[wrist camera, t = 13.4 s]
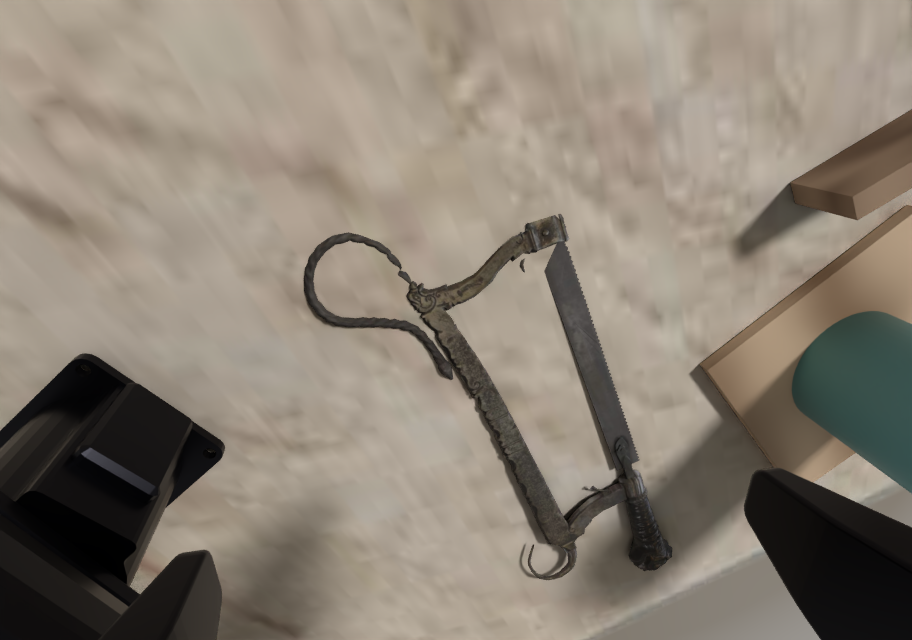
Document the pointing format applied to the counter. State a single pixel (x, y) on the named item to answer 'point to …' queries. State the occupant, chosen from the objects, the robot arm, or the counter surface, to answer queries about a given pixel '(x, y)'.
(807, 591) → the robot arm
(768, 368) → the mat
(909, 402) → the tin
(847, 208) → the cubby
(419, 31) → the counter surface
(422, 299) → the hacksaw
